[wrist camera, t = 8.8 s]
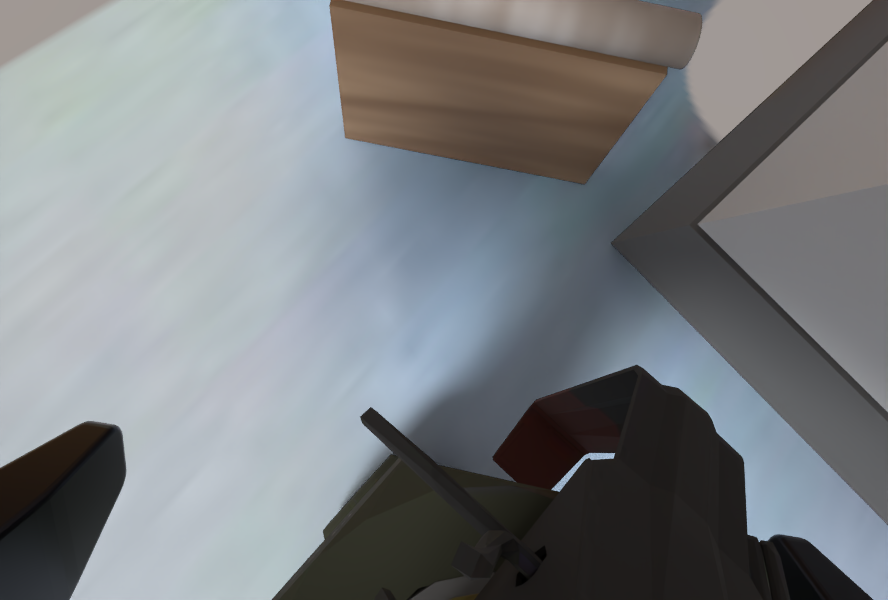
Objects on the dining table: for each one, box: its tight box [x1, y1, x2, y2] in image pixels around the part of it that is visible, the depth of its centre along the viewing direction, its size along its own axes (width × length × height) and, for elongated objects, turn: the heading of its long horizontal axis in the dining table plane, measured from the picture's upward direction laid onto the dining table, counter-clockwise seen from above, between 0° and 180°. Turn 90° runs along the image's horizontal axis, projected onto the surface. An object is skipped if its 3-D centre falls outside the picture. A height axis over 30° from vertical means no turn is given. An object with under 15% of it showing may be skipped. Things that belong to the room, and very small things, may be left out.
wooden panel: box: [330, 0, 702, 184], centre depth 16 cm, size 1×8×7 cm, turn 81°
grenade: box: [272, 365, 790, 600], centre depth 10 cm, size 6×6×15 cm
